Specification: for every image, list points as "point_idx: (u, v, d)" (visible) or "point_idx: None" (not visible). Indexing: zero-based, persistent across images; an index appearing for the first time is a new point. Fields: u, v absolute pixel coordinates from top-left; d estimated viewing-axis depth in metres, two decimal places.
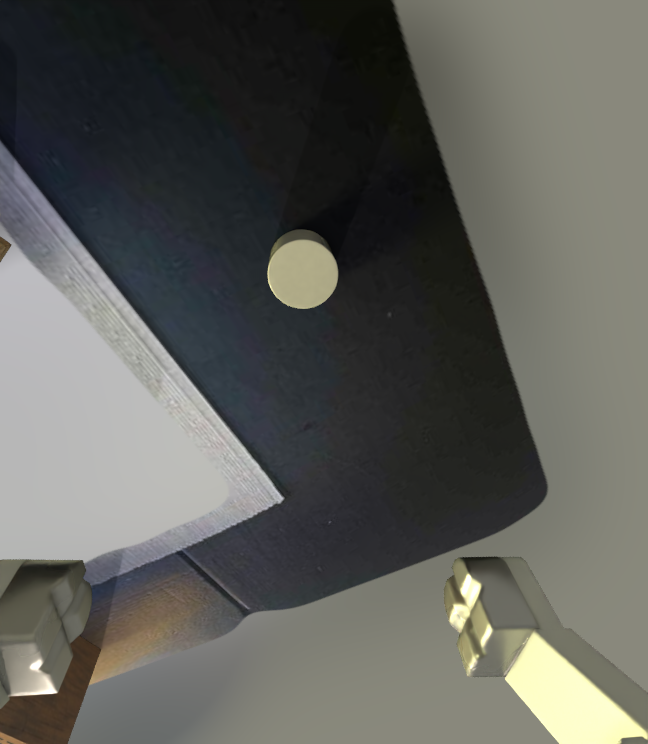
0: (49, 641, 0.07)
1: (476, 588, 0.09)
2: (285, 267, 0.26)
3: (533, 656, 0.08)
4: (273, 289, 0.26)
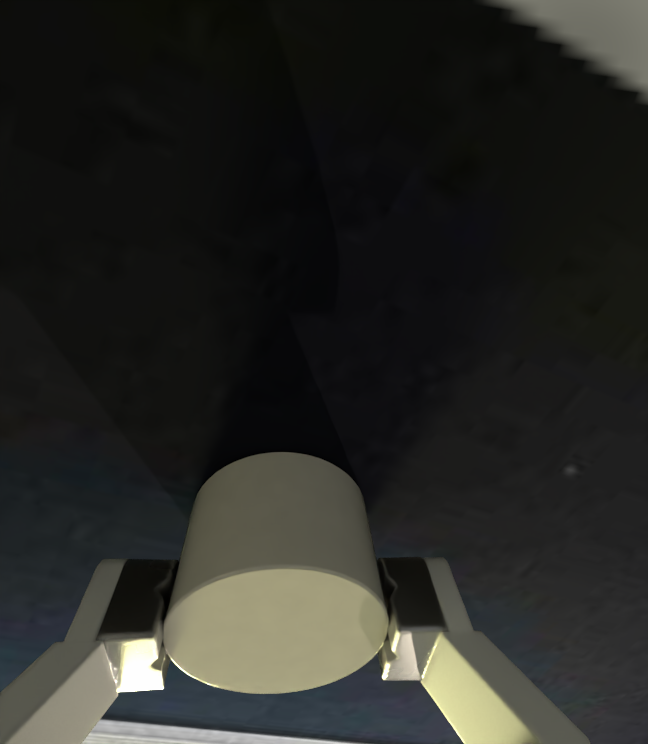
0: (160, 638, 0.08)
1: (392, 589, 0.09)
2: (218, 651, 0.08)
3: (442, 659, 0.08)
4: (240, 690, 0.09)
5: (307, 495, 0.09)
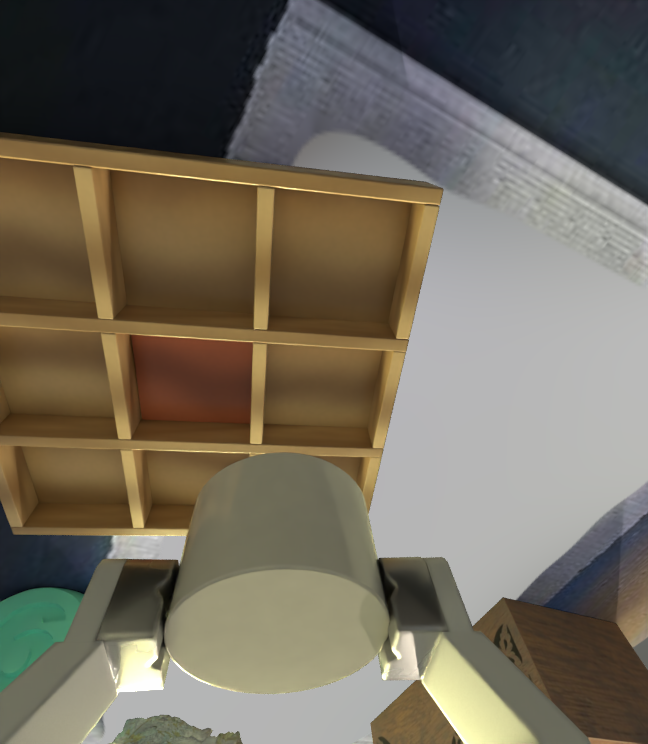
0: (160, 638, 0.08)
1: (392, 589, 0.09)
2: (219, 652, 0.08)
3: (442, 659, 0.08)
4: (241, 690, 0.09)
5: (308, 496, 0.09)
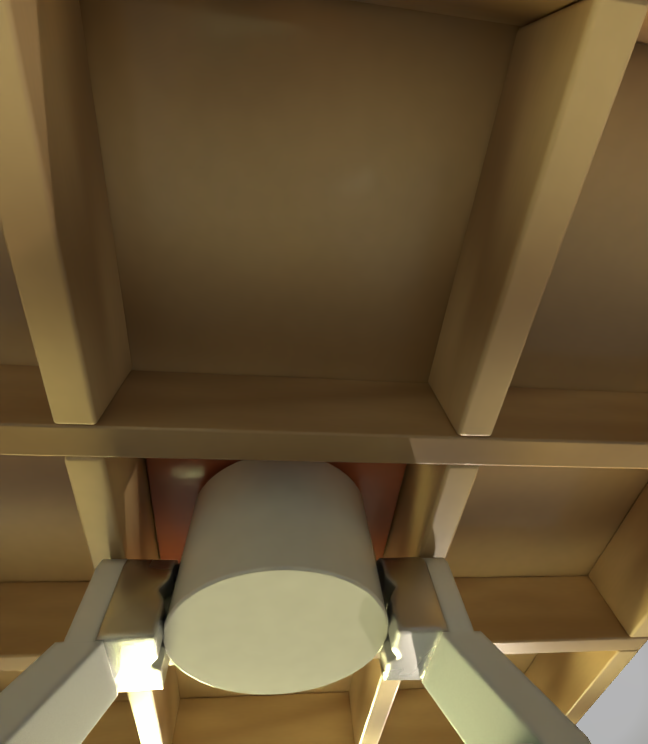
0: (160, 638, 0.08)
1: (392, 589, 0.09)
2: (218, 652, 0.08)
3: (442, 659, 0.08)
4: (240, 691, 0.09)
5: (307, 496, 0.09)
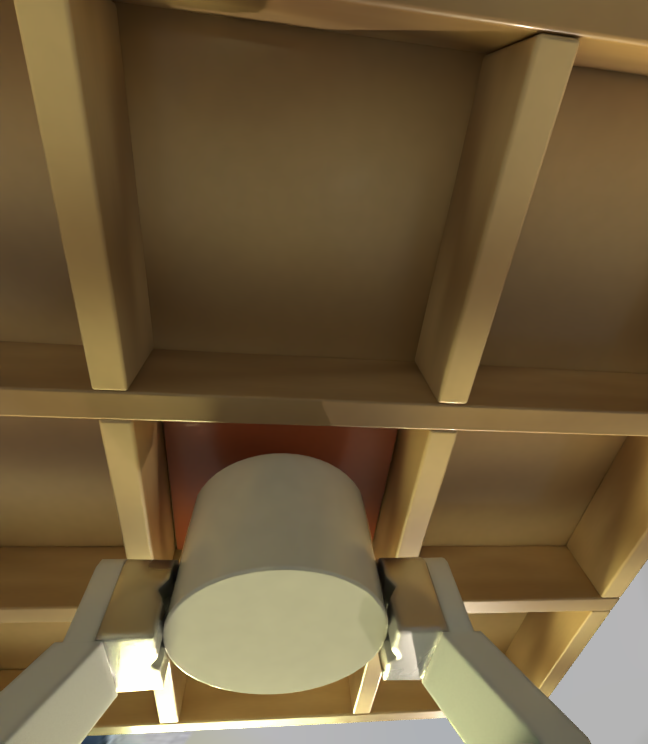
0: (159, 638, 0.08)
1: (392, 589, 0.09)
2: (218, 651, 0.08)
3: (442, 659, 0.08)
4: (240, 690, 0.09)
5: (307, 496, 0.09)
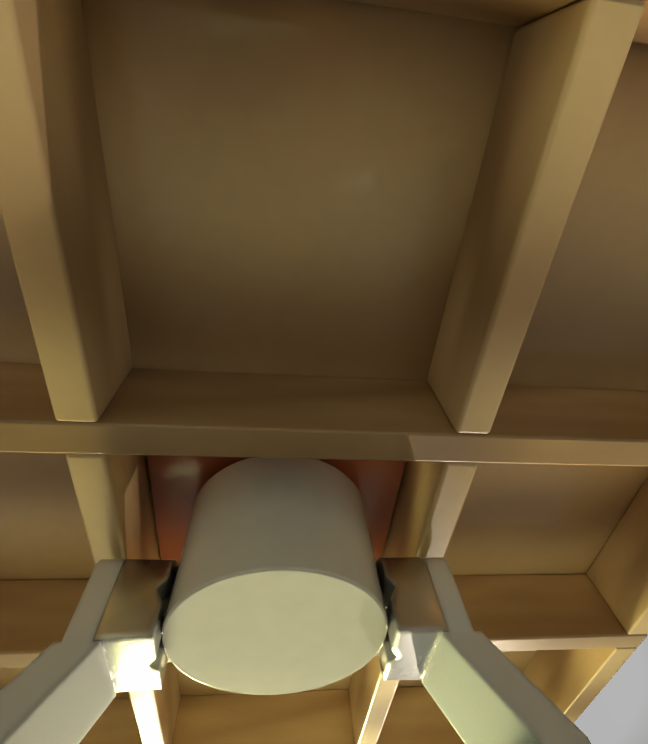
0: (158, 638, 0.08)
1: (392, 589, 0.09)
2: (217, 653, 0.08)
3: (442, 659, 0.08)
4: (239, 691, 0.09)
5: (306, 497, 0.09)
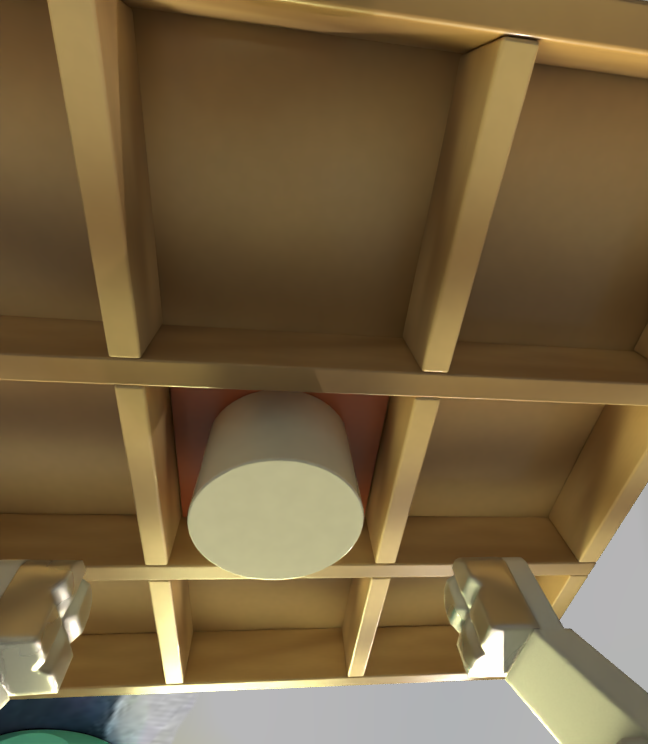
0: (49, 641, 0.07)
1: (476, 588, 0.09)
2: (230, 536, 0.11)
3: (533, 656, 0.08)
4: (247, 575, 0.11)
5: (300, 417, 0.11)
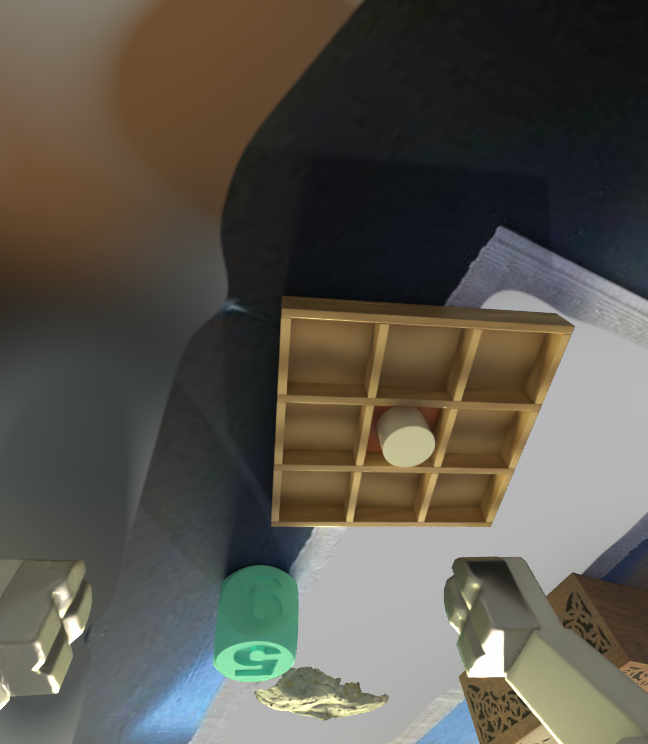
0: (49, 641, 0.07)
1: (476, 588, 0.09)
2: (394, 450, 0.35)
3: (533, 656, 0.08)
4: (396, 465, 0.35)
5: (414, 414, 0.35)
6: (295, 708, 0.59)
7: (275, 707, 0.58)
